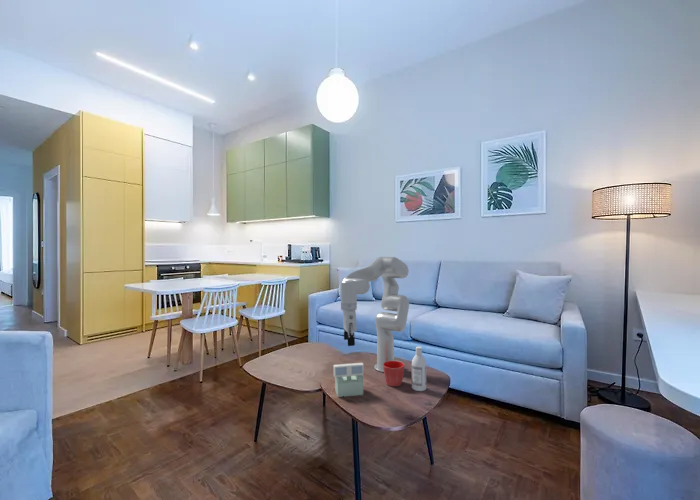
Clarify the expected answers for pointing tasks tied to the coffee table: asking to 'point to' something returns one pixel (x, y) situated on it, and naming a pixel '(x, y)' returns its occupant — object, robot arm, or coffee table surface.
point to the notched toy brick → (349, 385)
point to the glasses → (348, 370)
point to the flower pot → (393, 372)
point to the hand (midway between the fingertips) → (349, 342)
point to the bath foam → (418, 371)
